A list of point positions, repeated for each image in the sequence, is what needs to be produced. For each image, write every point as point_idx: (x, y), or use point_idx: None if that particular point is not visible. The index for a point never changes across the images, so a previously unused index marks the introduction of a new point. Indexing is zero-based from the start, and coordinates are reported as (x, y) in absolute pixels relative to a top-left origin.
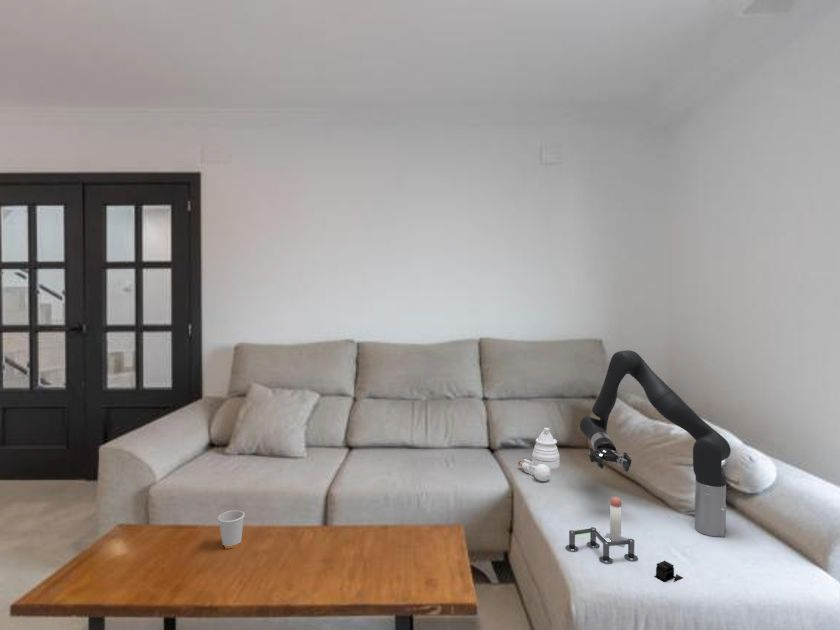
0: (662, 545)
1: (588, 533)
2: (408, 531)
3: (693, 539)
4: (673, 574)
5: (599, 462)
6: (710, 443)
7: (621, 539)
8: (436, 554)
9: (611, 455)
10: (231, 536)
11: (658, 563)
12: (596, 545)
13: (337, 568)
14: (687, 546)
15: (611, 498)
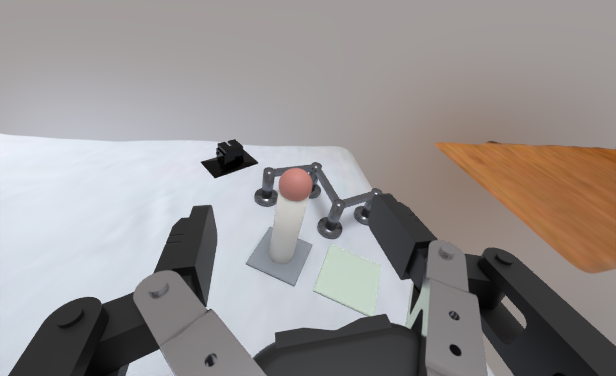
0: None
1: (340, 275)
2: (610, 246)
3: (33, 289)
4: (217, 156)
5: (406, 209)
6: None
7: (266, 256)
8: (518, 197)
9: (322, 359)
10: None
11: (240, 146)
12: (324, 224)
13: (563, 175)
14: (100, 248)
15: (310, 179)
